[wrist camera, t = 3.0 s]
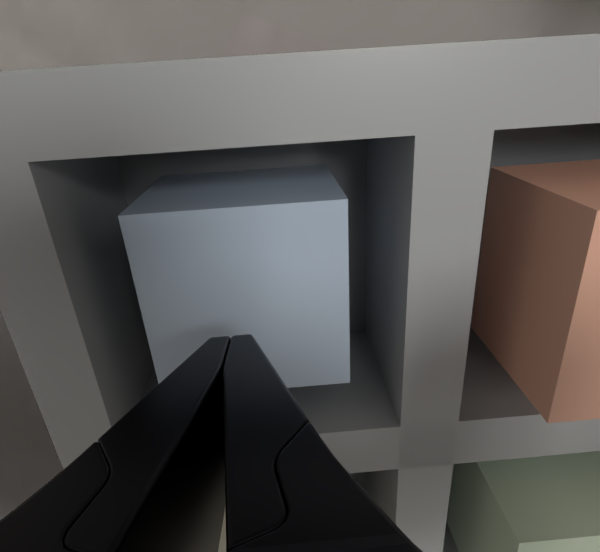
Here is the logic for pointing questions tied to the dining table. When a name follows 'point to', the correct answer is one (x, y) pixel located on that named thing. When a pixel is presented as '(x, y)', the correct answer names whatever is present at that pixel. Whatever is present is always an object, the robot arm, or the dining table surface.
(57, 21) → the dining table surface
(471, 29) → the dining table surface
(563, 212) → the key terracotta
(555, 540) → the key sage
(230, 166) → the keypad
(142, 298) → the key slate
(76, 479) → the robot arm
